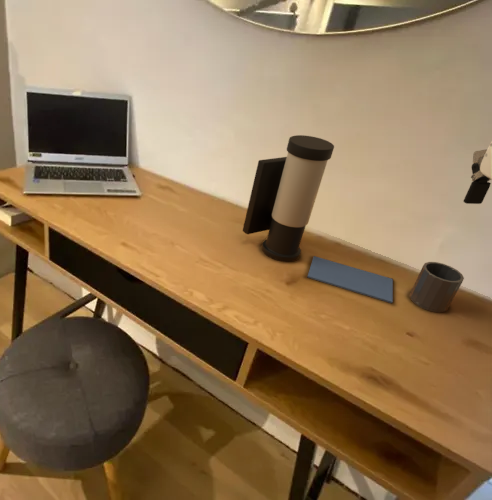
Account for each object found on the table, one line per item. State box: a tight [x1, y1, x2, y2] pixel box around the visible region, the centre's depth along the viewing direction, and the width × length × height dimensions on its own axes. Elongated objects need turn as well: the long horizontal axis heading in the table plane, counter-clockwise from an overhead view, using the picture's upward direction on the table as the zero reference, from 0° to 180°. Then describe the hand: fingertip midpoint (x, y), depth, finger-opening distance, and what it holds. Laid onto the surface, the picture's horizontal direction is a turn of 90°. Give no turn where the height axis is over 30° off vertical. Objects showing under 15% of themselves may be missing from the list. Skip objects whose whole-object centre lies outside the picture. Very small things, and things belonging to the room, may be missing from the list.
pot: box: [409, 261, 465, 313], centre depth 90 cm, size 7×7×7 cm
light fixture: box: [242, 134, 335, 263], centre depth 98 cm, size 12×11×25 cm
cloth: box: [307, 255, 394, 304], centre depth 96 cm, size 16×9×1 cm, turn 65°
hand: (491, 215), depth 81 cm, fingers open, 9 cm apart
